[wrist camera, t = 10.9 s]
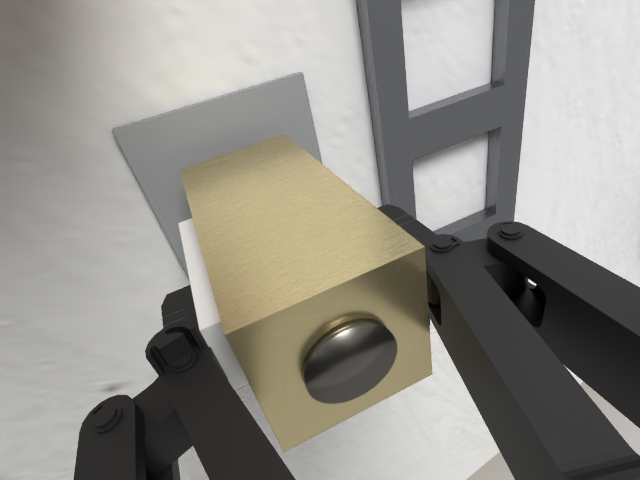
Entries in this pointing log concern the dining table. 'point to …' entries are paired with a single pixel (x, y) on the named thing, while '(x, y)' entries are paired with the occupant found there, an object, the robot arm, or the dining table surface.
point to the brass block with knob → (309, 286)
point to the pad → (211, 141)
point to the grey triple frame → (448, 111)
